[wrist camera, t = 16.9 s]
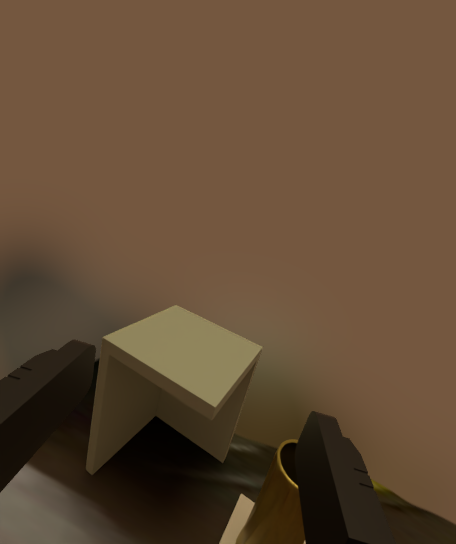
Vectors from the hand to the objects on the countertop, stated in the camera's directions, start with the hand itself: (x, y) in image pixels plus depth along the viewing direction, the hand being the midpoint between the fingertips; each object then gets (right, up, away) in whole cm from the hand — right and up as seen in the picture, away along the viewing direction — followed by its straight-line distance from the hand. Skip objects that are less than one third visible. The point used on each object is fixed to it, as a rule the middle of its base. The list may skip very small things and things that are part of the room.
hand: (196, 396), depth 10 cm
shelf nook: (-8, -22, +27) cm, 36 cm away
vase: (+5, -27, +19) cm, 34 cm away
